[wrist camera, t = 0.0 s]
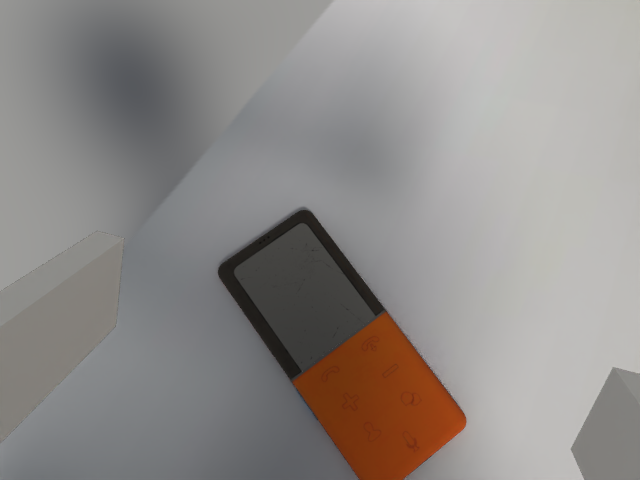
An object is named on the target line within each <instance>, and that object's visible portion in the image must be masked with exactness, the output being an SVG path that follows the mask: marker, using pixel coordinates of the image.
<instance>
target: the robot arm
mask: <svg viewBox="0 0 640 480" xmlns="http://www.w3.org/2000/svg"><path fill="white" fill-rule="evenodd" d="M123 248H124V238H122V237H119V236H115V235H111V234H107V233H103V232H99V231H96V232H94V233H93V234H91V235H90V236H88V237H86V238H85V239H83V240H81V241H80V242H78V243H77V244H75V245H73V246H72V247H70V248H69V249H67V250H65V251H64V252H62V253H61V254H59V255H57V256H56V257H54V258H53V259H51V260H49V261H48V262H46V263H45V264H43V265H41V266H40V267H38V268H37V269H35V270H33V271H32V272H30V273H29V274H27V275H25V276H24V277H22V278H21V279H19V280H17V281H16V282H14V283H13V284H11V285H10V286H8V287H6V288H4V289H3V290H1V291H0V443H1V442H2V441H3V440H4V439H5V438H6V437H7V436H8V435H9V434H10V433H11V432H12V431H13V430H14V429H15V428H16V427H17V426H18V425H19V424H20V423H21V422H22V421H23V420H24V419H25V418H26V417H27V416H28V415H29V414H30V413H31V412H32V411H33V410H34V409H35V408H36V407H37V406H38V405H39V404H40V403H41V402H42V401H43V400H44V399H45V398H46V397H47V396H48V395H49V394H50V392H51V391H52V390H53V389H54V388H55V387H56V386H57V385H58V384H59V383H60V382H61V381H62V380H63V379H64V378H65V377H66V376H67V375H68V374H69V373H70V372H71V371H72V370H73V369H74V368H75V367H76V366H77V365H78V364H79V363H80V362H81V361H82V360H83V359H84V358H85V357H86V356H87V355H88V354H89V353H90V352H91V351H92V350H93V349H94V348H95V347H96V346H97V345H98V344H99V343H100V342H101V341H102V340H103V339H104V338H105V337H106V336H107V335H108V334H109V333H110V332H111V331H112V330H113V329H114V328H115V327H116V321H117V310H118V300H119V289H120V279H121V269H122V258H123ZM571 451H572V453H573V455H574V457H575V460H576V462H577V464H578V466H579V469H580V471H581V473H582V475H583V477H584V480H640V374H638V373H634V372H630V371H626V370H623V369H619V368H615V367H613V369H612V370H611V372H610V374H609V376H608V378H607V380H606V382H605V384H604V386H603V388H602V390H601V392H600V394H599V396H598V397H597V399H596V401H595V403H594V405H593V407H592V409H591V411H590V413H589V415H588V417H587V419H586V421H585V423H584V424H583V426H582V428H581V430H580V432H579V434H578V436H577V438H576V440H575V442H574V444H573V446H572V448H571Z"/></svg>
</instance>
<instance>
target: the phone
mask: <svg viewBox="0 0 640 480" xmlns="http://www.w3.org/2000/svg"><path fill="white" fill-rule="evenodd" d="M218 274H219V277H220V279H221V280H222V282H223V283H224V285H225V286H226V288H227V289H228V290H229V292H230V293H231V295H232V296H233V298H234V299H235V301H236V302H237V303H238V305H239V306H240V308H241V309H242V311H243V312H244V313H245V315H246V316H247V318H248V319H249V321H250V322H251V324H252V325H253V326H254V328H255V329H256V331H257V332H258V334H259V335H260V337H261V338H262V339H263V341H264V342H265V344H266V345H267V347H268V348H269V350H270V351H271V352H272V354H273V355H274V357H275V358H276V360H277V361H278V362H279V364H280V365H281V367H282V368H283V370H284V371H285V373H286V374H287V375H288V377H289V378H290V380H291V381H292V383H293V384H294V386H295V387H296V389H297V391H298V392H299V394H300V395H301V397H302V398H303V399H304V401H305V402H306V404H307V405H308V407H309V408H310V410H311V411H312V412H313V414H314V415H315V417H316V418H317V420H319V422H320V423H321V424H322V426H323V427H324V429H325V430H326V432H327V433H328V435H329V436H330V437H331V439H332V440H333V442H334V443H335V445H336V446H337V448H338V449H339V450H340V452H341V453H342V455H343V456H344V458H345V459H346V460H347V462H348V463H349V465H350V466H351V468H352V469H353V471H354V472H355V473H356V475H357V476H358V478H359V479H360V480H403V479H404V478H405V477H406V476H407V475H409V474H410V473H411V472H412V471H413V470H415V469H416V468H417V467H419V466H420V465H421V464H422V463H423V462H425V461H426V460H427V459H428V458H429V457H431V456H432V455H433V454H434V453H435V452H436V451H438V450H439V449H440V448H441V447H442V446H444V445H445V444H446V443H447V442H449V441H450V440H451V439H452V438H453V437H455V436H456V435H457V434H458V433H459V432H461V431H462V430H463V429H464V427H465V425H466V417H465V415H464V413H463V412H462V410H461V409H460V408H459V406H458V405H457V404H456V402H455V401H454V400H453V398H452V397H451V396H450V395H449V393H448V392H447V391H446V389H445V388H444V387H443V385H442V384H441V383H440V381H439V380H438V379H437V377H436V376H435V375H434V373H433V372H432V371H431V369H430V368H429V367H428V366H427V364H426V363H425V362H424V360H423V359H422V358H421V356H420V355H419V354H418V352H417V351H416V350H415V348H414V347H413V346H412V344H411V343H410V342H409V340H408V339H407V338H406V336H405V335H404V334H403V333H402V331H401V330H400V329H399V327H398V326H397V325H396V323H395V322H394V321H393V319H392V318H391V317H390V315H389V314H388V313H387V311H386V310H385V309H384V307H383V306H382V305H381V303H380V302H379V301H378V300H377V298H376V297H375V296H374V294H373V293H372V292H371V290H370V289H369V288H368V286H367V285H366V284H365V282H364V281H363V280H362V278H361V277H360V276H359V274H358V273H357V272H356V270H355V269H354V268H353V267H352V265H351V264H350V263H349V261H348V260H347V259H346V257H345V256H344V255H343V253H342V252H341V251H340V249H339V248H338V247H337V245H336V244H335V243H334V241H333V240H332V239H331V238H330V236H329V235H328V234H327V232H326V231H325V230H324V228H323V227H322V226H321V224H320V223H319V222H318V220H317V219H316V218H315V216H314V215H313V214H312V213H311V212H310V211H308V210H301V211H299V212H297V213H296V214H294V215H293V216H291V217H290V218H289V219H287V220H286V221H284V222H283V223H281V224H280V225H278V226H277V227H275V228H274V229H272V230H271V231H269V232H268V233H267V234H265V235H264V236H262V237H261V238H259V239H258V240H256V241H255V242H253V243H252V244H250V245H249V246H247V247H246V248H244V249H243V250H242V251H240V252H239V253H237V254H236V255H234V256H233V257H231V258H230V259H228V260H227V261H225V262H224V263H223V264H221V266H220V267H219V270H218Z"/></svg>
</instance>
